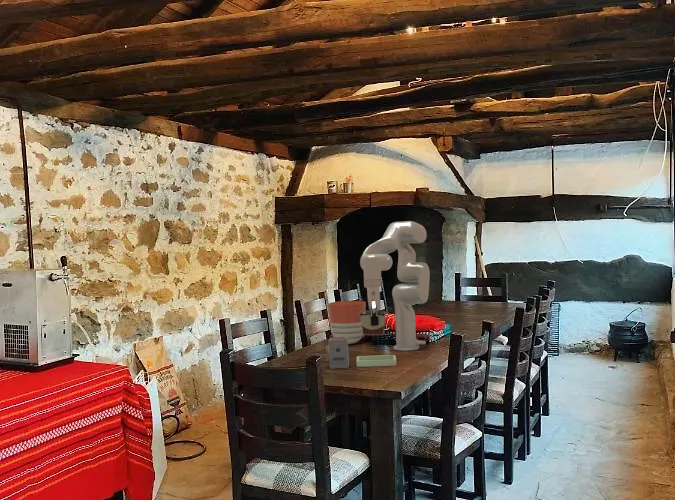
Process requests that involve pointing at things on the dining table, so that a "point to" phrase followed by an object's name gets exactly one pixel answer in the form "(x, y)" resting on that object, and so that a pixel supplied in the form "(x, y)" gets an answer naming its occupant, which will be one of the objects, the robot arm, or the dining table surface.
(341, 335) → the planter
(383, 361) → the tray
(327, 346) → the walnut cartridge
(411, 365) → the dining table surface
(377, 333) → the food container
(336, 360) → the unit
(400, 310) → the robot arm
